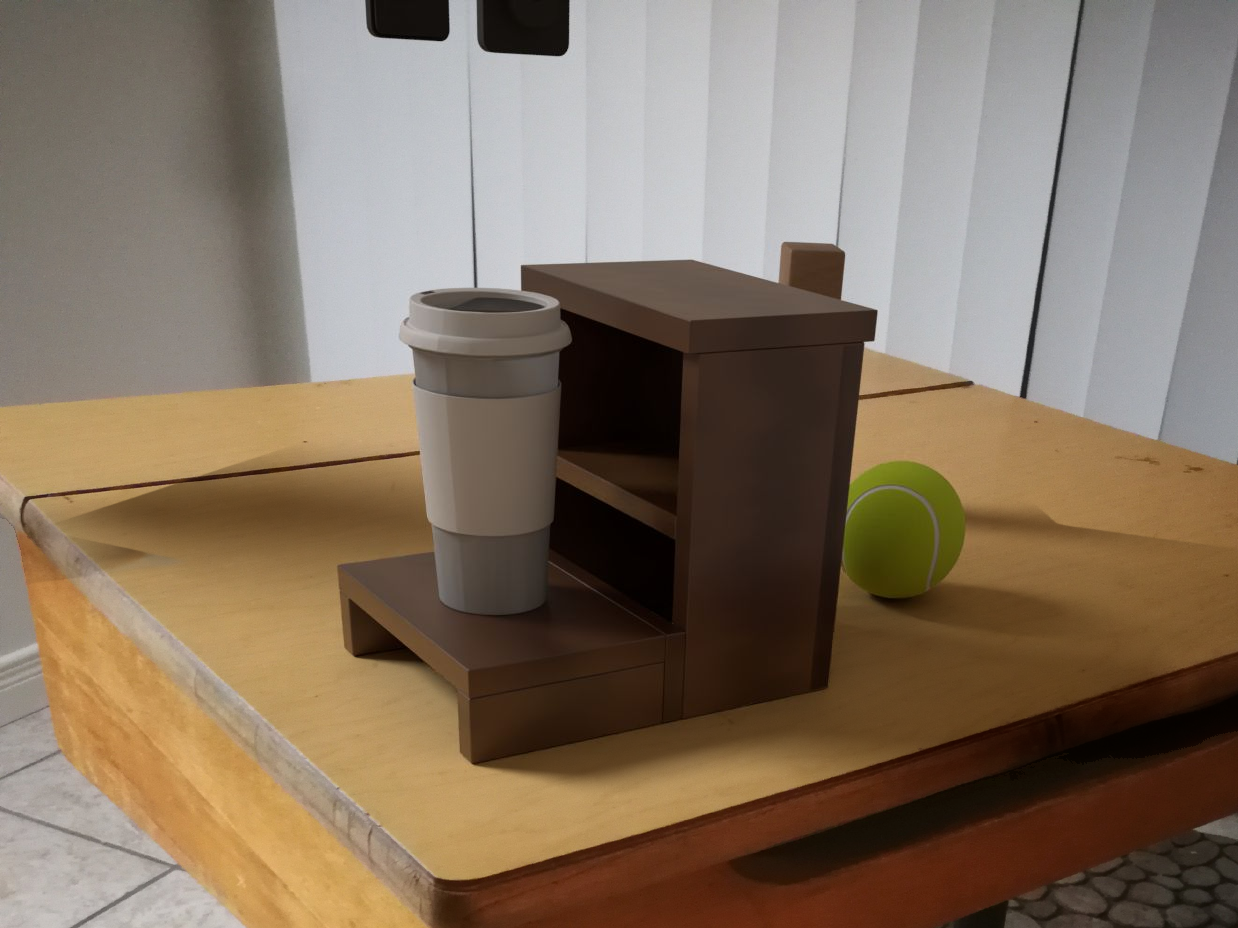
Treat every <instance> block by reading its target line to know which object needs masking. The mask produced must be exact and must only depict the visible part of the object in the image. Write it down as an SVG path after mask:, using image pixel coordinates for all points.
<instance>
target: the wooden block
mask: <svg viewBox="0 0 1238 928" xmlns="http://www.w3.org/2000/svg"><path fill="white" fill-rule="evenodd" d="M779 258H780V259H779V270H778V283H780V284H784V285H787V286H791V287H795V288H798V289H802V290H806V291H810V292H813V293H817V294H821V295H824V296H828V297H832V298H835V299H839V300H842V296H843V295H842V293H843V283H844V275H845V264H846V263H845V261H846V251H845V250H842V249H841V248H840V247H838V246H837V245H835V244H834V243H827V242H825V243H824V242H802V241H784V242H782V243H781V245H780V257H779Z"/></svg>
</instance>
